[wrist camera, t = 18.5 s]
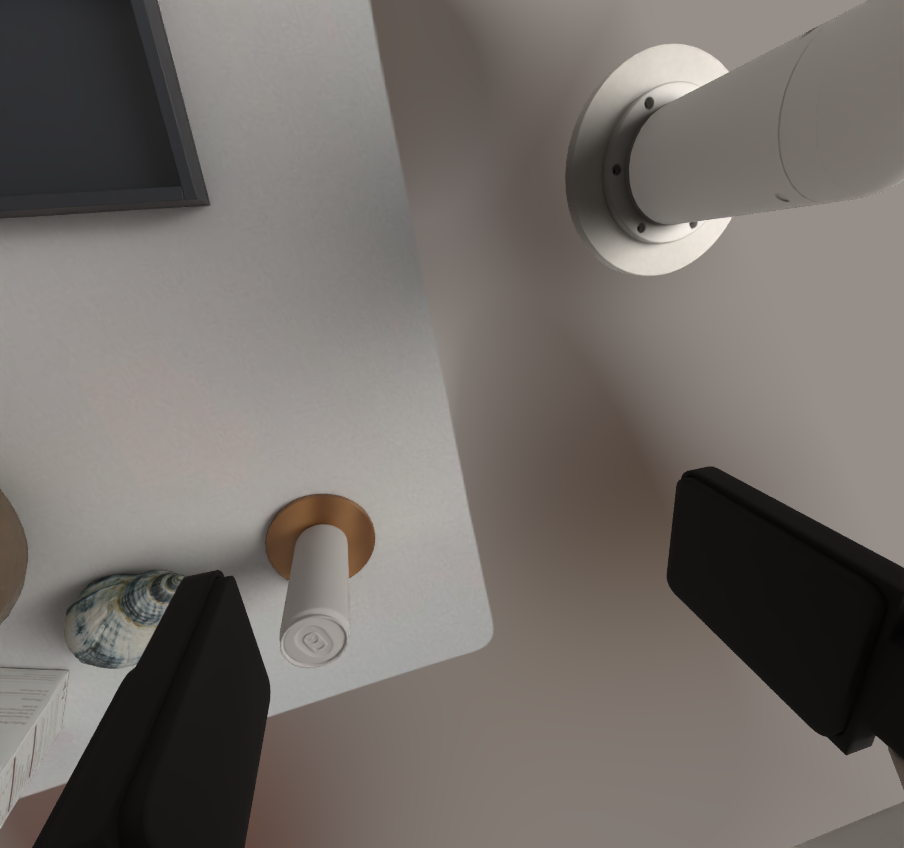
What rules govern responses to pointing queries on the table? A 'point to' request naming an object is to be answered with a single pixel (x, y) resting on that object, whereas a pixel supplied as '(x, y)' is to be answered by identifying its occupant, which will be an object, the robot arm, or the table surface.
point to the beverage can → (317, 599)
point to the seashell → (118, 617)
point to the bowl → (11, 557)
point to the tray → (91, 111)
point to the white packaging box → (27, 726)
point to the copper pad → (315, 513)
